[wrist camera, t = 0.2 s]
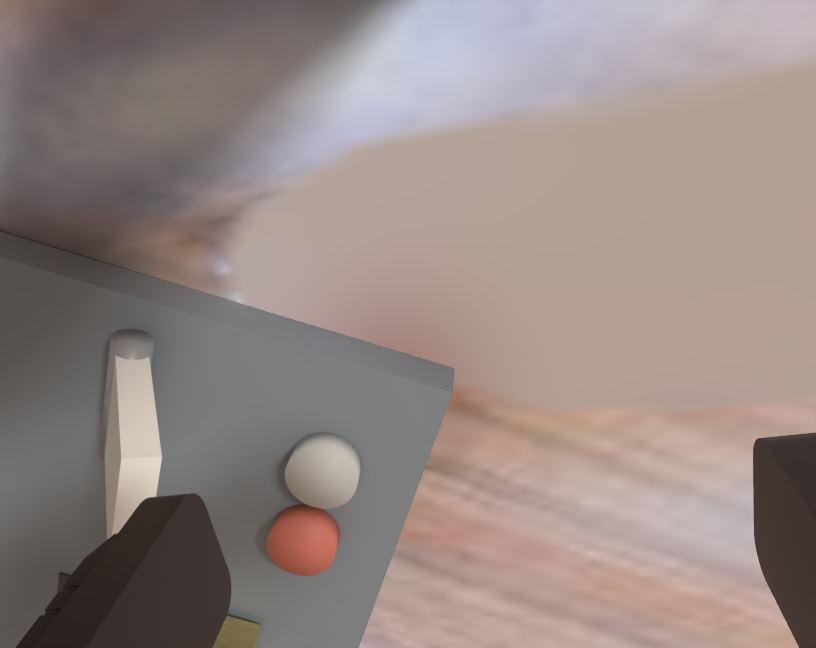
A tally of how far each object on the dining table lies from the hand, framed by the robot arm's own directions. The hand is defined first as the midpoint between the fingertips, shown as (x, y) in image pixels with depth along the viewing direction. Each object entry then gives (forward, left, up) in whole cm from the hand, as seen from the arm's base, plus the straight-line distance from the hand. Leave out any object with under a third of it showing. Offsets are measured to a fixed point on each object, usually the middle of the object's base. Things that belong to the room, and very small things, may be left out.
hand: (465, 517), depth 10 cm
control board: (+14, -16, -18) cm, 28 cm away
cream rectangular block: (+5, -15, -16) cm, 22 cm away
